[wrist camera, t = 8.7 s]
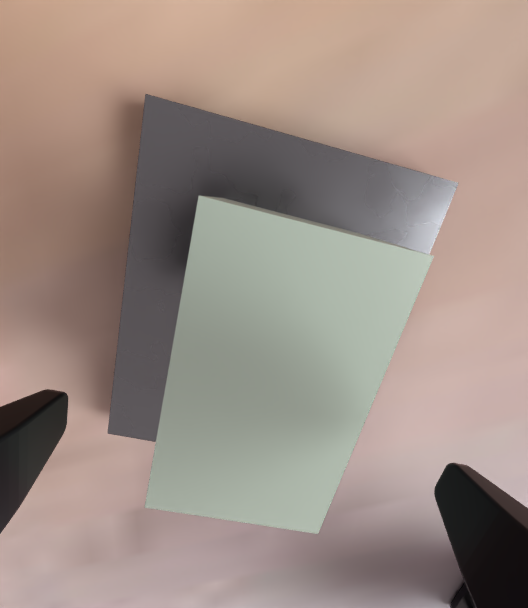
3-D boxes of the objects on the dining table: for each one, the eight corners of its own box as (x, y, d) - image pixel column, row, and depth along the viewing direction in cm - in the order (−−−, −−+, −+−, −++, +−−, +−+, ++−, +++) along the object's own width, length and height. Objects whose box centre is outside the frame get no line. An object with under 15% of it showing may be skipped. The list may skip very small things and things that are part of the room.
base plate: (333, 453, 19) (355, 525, 15) (119, 415, 18) (76, 481, 14) (438, 184, 14) (515, 177, 10) (157, 105, 13) (110, 59, 9)
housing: (296, 419, 17) (318, 533, 11) (183, 398, 16) (144, 507, 10) (358, 233, 14) (433, 256, 8) (223, 198, 13) (198, 195, 7)
